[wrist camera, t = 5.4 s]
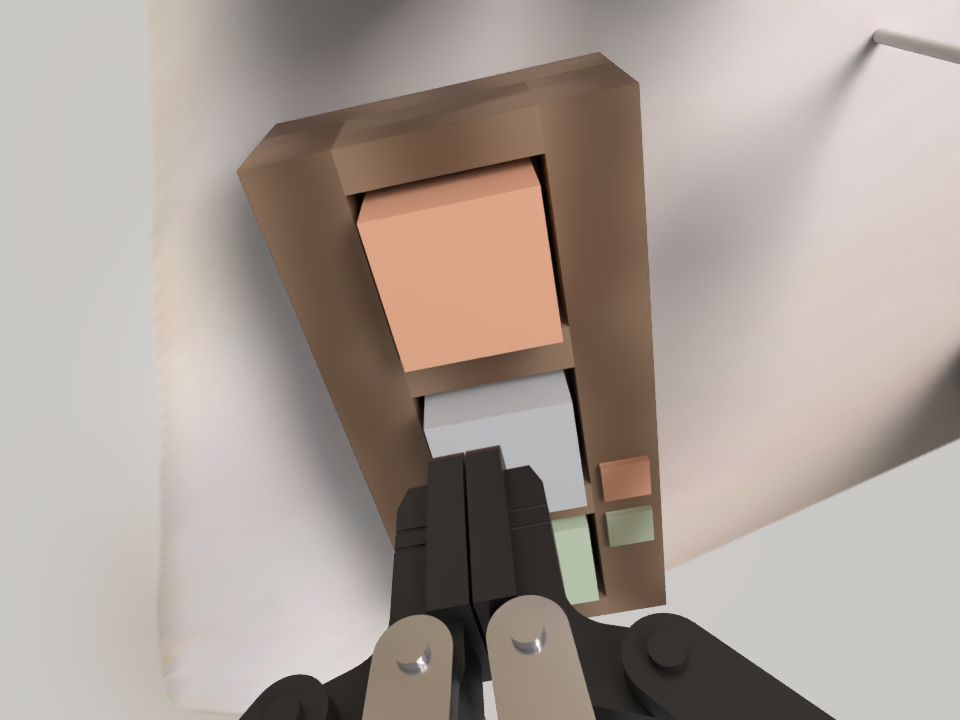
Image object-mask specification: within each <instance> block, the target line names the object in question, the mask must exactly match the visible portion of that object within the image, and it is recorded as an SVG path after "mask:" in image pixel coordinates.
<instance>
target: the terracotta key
mask: <svg viewBox="0 0 960 720" xmlns="http://www.w3.org/2000/svg"><path fill="white" fill-rule="evenodd" d="M357 226H358V229H359V233H360V236H361V239H362V242H363V245H364V248H365V251H366V254H367V257H368V260H369V263H370V266H371V269H372V272H373V276H374V279H375V282H376V285H377V288H378V291H379V294H380V297H381V300H382V303H383V306H384V309H385V312H386V316H387V319H388V322H389V325H390V328H391V331H392V334H393V337H394V340H395V343H396V346H397V349H398V352H399V355H400V359H401V362H402V365H403V368H404V371H405V372H409V371H415V370H420V369H425V368H430V367H435V366H440V365H446V364H451V363H456V362H461V361H466V360H472V359H477V358H482V357H487V356H492V355H498V354H503V353H508V352H513V351H518V350H523V349H529V348H534V347H539V346H544V345H549V344H555V343H560V342H563V336H562V329H561V322H560V316H559V309H558V302H557V295H556V288H555V282H554V275H553V268H552V261H551V254H550V247H549V241H548V234H547V227H546V220H545V213H544V207H543V200H542V193H541V186H540V183H539V181H538V178H537V175H536V173H535V170H534V168H533V165H532V163H531V160H530V157H525V158H520V159H516V160H511V161H506V162H501V163H497V164H492V165H487V166H483V167H478V168H473V169H469V170H464V171H459V172H455V173H450V174H445V175H441V176H436V177H431V178H427V179H422V180H417V181H412V182H408V183H403V184H398V185H394V186H389V187H384V188H380V189H375V190H370V191H366V193H365V197H364V200H363V204H362V207H361V211H360V214H359V218H358V221H357Z"/></svg>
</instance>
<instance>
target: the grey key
mask: <svg viewBox="0 0 960 720" xmlns="http://www.w3.org/2000/svg"><path fill="white" fill-rule="evenodd" d="M424 432H425V435H426V438H427V441H428V445H429V448H430V451H431V454H432V457H433V458H436V457H441V456H446V455H451V454H456V453H461V452H464V454H465V452H466V451H470V450H476V449H481V448H486V447H491V446H496V445H500V447H501V450H502V454H503V457H504V461H505V465H506V469H511V468H516V467H521V466H526V465H530V467H531V468H532V469H533V470H534V472H535V473H536V474H537V475H538V476H539V478H540V479H541V480H542V481H543V485H544V490H545V494H546V499H547V503H548V508H549V513H550V512H555V511H561V510H567V509H573V508H578V507H584V506H587V500H586V493H585V486H584V479H583V472H582V466H581V459H580V452H579V445H578V438H577V431H576V425H575V418H574V411H573V404H572V400H571V396H570V393H569V389H568V385H567V382H566V378H565V375H564V371H563V369H562V370H556V371H551V372H546V373H541V374H535V375H530V376H525V377H520V378H514V379H509V380H504V381H498V382H493V383H488V384H483V385H477V386H472V387H467V388H462V389H456V390H451V391H446V392H441V393H435V394H430V395H425V407H424Z"/></svg>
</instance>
